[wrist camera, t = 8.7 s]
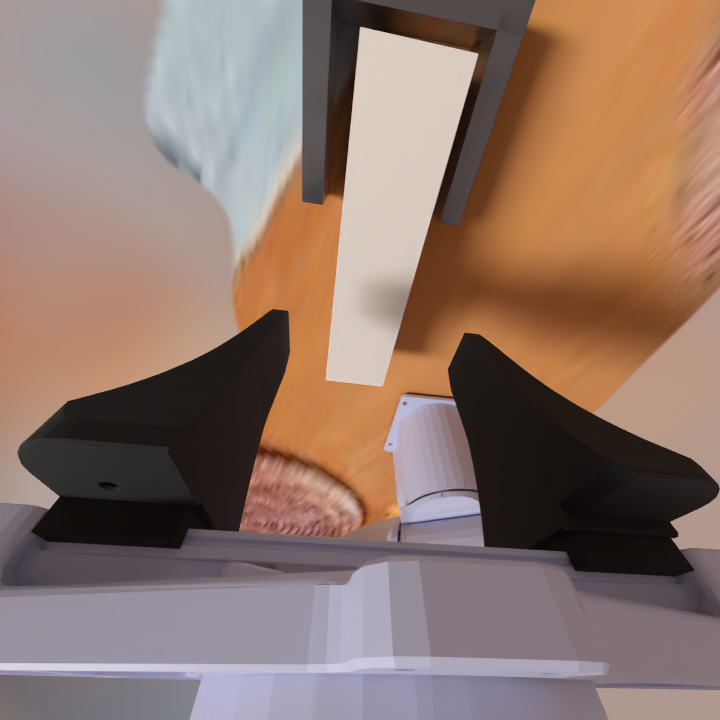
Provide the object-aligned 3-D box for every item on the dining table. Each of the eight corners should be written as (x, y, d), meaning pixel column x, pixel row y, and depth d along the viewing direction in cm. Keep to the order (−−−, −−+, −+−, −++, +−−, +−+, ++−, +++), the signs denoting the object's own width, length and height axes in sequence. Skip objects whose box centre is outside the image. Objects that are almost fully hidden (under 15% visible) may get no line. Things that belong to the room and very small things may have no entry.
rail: (379, 343, 23) (382, 386, 19) (332, 338, 23) (325, 380, 19) (444, 75, 13) (478, 53, 9) (361, 57, 13) (360, 27, 9)
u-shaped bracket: (445, 211, 17) (458, 225, 14) (311, 190, 16) (302, 201, 14) (504, 17, 12) (538, -9, 9) (315, -23, 11) (302, -62, 9)
